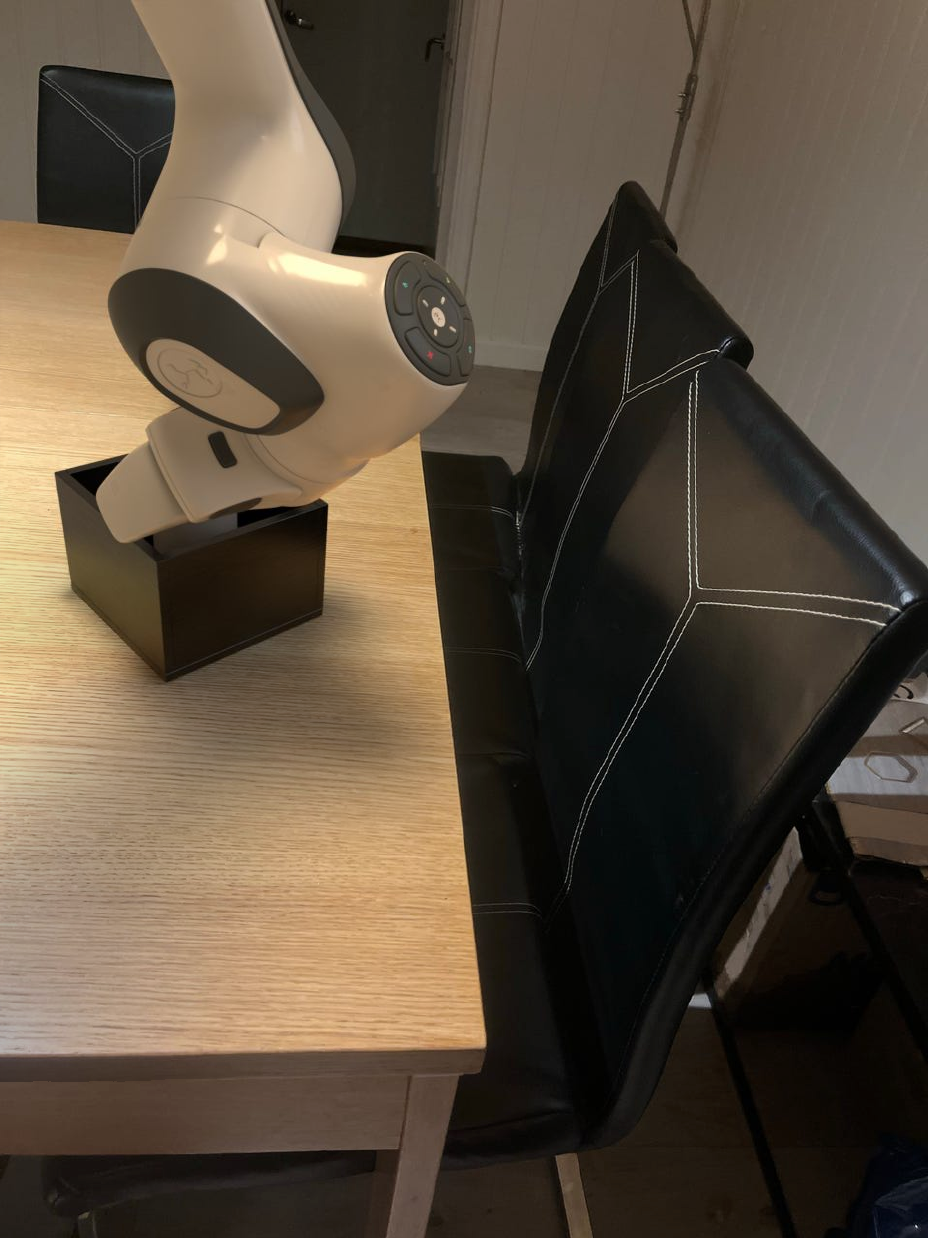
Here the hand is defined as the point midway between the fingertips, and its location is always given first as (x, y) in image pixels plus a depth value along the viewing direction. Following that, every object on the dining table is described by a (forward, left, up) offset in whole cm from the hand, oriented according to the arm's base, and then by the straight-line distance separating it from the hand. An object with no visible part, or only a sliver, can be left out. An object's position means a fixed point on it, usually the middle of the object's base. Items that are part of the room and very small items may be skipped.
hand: (203, 502), depth 69 cm
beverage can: (0, +1, -10) cm, 10 cm away
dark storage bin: (0, +2, -10) cm, 10 cm away
